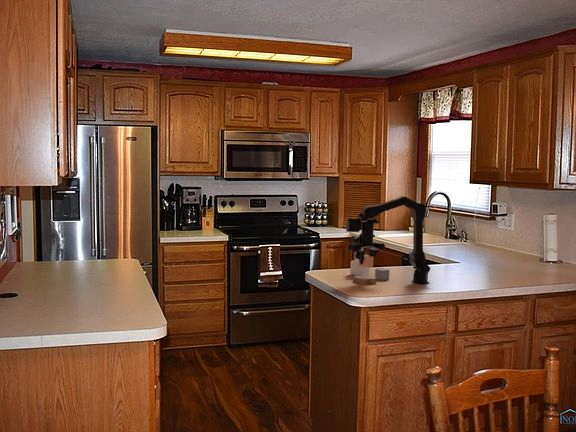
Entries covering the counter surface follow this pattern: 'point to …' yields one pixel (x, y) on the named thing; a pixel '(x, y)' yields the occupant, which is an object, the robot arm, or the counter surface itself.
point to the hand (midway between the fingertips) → (365, 264)
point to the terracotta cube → (367, 261)
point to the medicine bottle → (358, 267)
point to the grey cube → (382, 274)
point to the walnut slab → (364, 280)
